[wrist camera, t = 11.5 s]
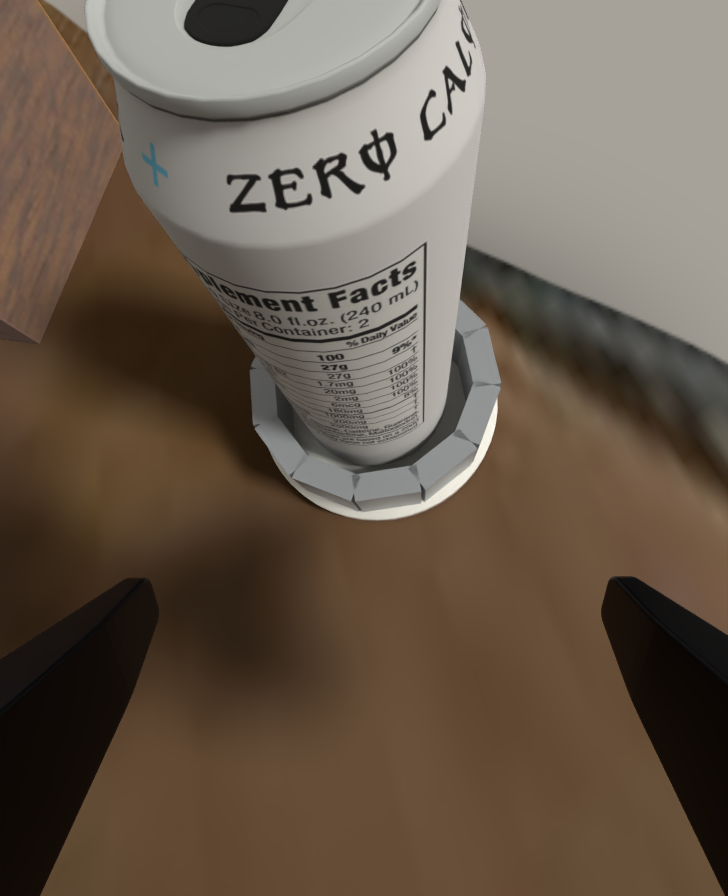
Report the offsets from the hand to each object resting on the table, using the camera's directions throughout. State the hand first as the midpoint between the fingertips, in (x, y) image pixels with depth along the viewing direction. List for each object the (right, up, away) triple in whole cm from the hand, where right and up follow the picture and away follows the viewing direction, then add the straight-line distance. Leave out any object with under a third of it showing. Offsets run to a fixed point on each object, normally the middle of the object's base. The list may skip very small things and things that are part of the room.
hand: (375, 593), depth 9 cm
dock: (0, +5, +12) cm, 13 cm away
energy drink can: (0, +5, +11) cm, 12 cm away
